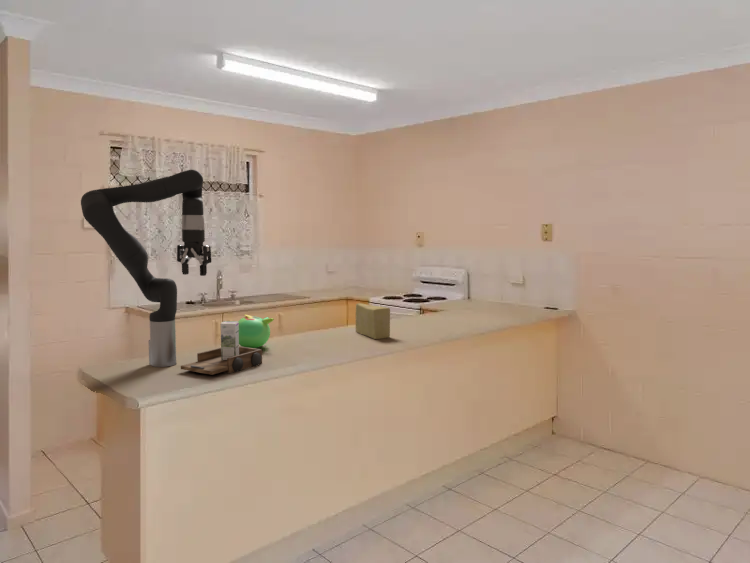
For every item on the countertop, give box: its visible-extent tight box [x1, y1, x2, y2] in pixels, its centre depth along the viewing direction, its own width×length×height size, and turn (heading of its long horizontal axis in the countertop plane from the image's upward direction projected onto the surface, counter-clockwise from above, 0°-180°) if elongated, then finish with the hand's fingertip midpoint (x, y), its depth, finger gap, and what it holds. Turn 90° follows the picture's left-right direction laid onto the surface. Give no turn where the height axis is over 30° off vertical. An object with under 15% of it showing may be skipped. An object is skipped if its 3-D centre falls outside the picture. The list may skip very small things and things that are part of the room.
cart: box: [196, 345, 263, 374], centre depth 220 cm, size 18×18×6 cm
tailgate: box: [180, 361, 228, 376], centre depth 209 cm, size 16×8×2 cm, turn 60°
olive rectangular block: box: [355, 302, 391, 340], centre depth 285 cm, size 22×10×15 cm, turn 37°
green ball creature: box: [237, 314, 275, 349], centre depth 253 cm, size 18×17×15 cm
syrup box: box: [220, 320, 240, 361], centre depth 219 cm, size 6×6×14 cm
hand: (194, 275), depth 201 cm, fingers open, 8 cm apart
